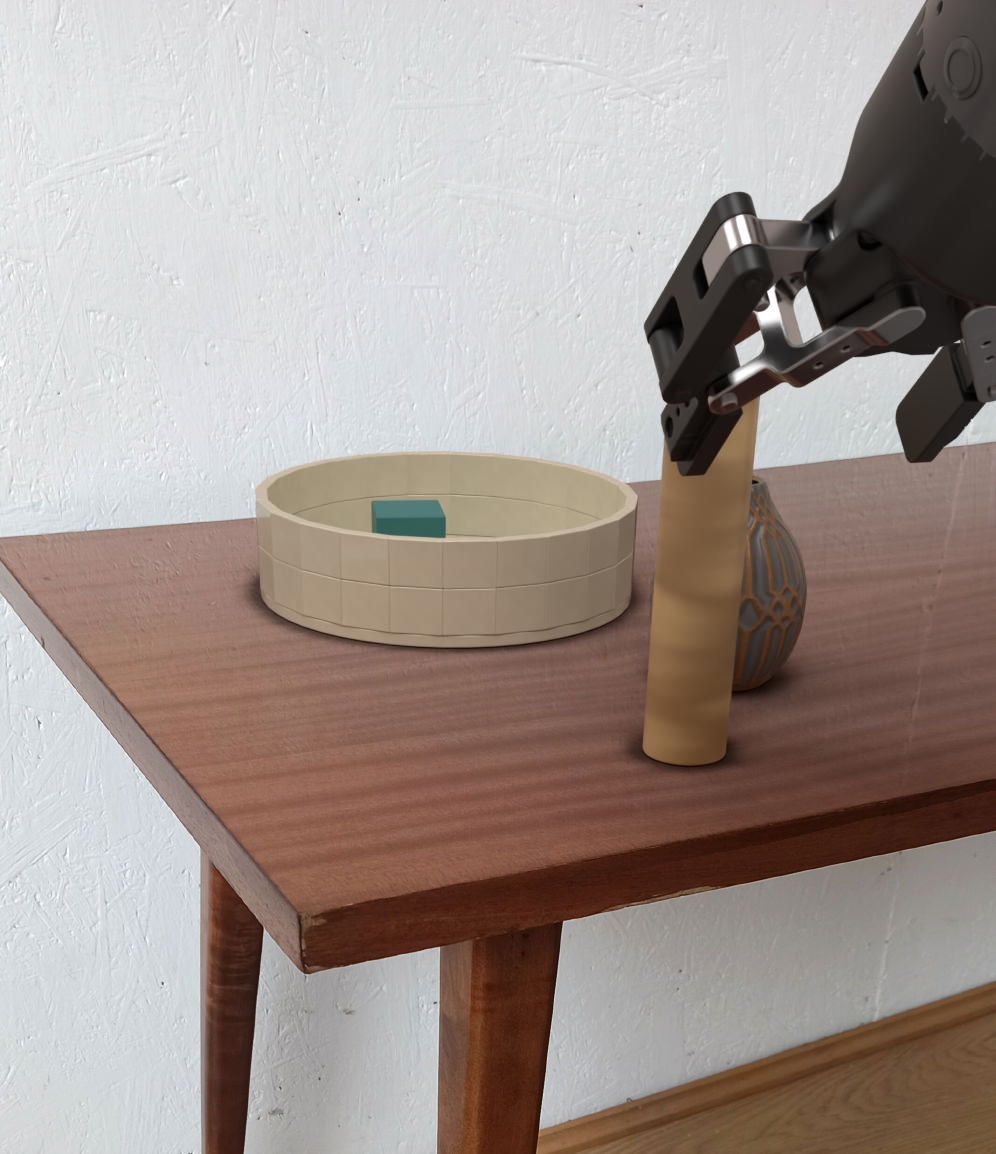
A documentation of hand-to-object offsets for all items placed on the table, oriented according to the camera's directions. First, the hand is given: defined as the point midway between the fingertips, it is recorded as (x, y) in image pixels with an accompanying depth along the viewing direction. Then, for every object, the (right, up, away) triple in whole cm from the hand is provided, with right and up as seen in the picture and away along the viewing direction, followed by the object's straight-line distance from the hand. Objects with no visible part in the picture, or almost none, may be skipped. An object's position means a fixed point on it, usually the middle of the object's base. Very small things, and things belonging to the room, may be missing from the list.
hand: (798, 445), depth 58 cm
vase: (0, -3, +21) cm, 21 cm away
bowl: (-13, +4, +31) cm, 34 cm away
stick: (-3, -8, +12) cm, 15 cm away
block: (-15, +5, +31) cm, 35 cm away
